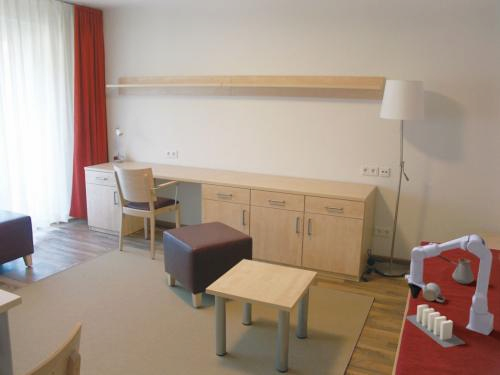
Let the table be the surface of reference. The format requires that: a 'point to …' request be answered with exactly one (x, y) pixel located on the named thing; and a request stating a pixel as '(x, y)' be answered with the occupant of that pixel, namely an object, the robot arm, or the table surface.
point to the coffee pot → (462, 271)
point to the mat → (444, 343)
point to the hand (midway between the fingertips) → (414, 297)
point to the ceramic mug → (433, 293)
